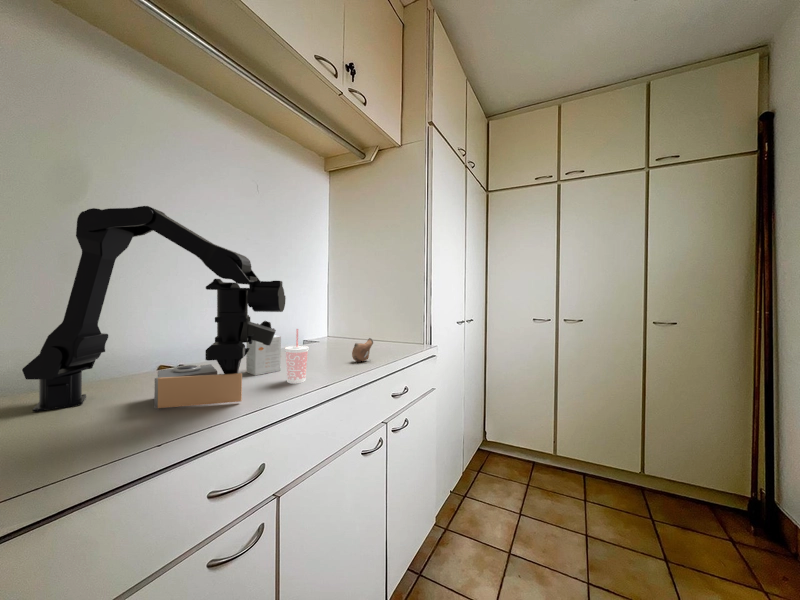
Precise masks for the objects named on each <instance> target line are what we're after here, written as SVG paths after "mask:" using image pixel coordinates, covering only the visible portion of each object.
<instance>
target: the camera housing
mask: <svg viewBox="0 0 800 600" xmlns="http://www.w3.org/2000/svg"><path fill="white" fill-rule="evenodd" d="M216 374H218V370H217V369H216V368H215V367H214V366H213V365H212V364H201V365H199V364H187V365H179V366H176V367H174V368H165V369H157V378H161V377H179V376H198V375H216Z"/></svg>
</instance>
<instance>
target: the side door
mask: <svg viewBox="0 0 800 600" xmlns="http://www.w3.org/2000/svg"><path fill="white" fill-rule="evenodd" d="M242 396H243V373H242V372H238V373H234V374H224V373H220V374H218V373H217V374H216V375H198V376H179V377H161V378H158V377H154V401H153V402H154V409H164V408H177V407H189V406H190V407H191V406H200V405H201V406H202V405H211V404H213V405H214V404H227V403H237V402H242V400H243V397H242Z"/></svg>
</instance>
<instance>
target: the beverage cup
mask: <svg viewBox="0 0 800 600" xmlns="http://www.w3.org/2000/svg"><path fill="white" fill-rule="evenodd" d="M295 332H296V334H295V335H296V336H295V338H296V341H295V345H289V346H286V347H284V352H285V358H286V359H285V361H286V381H287V383H289V384H294V385H295V384H301V383H305V382H306V377H307V367H308V366H307V365H308V355H309V354H308V352H309V346H307V345H299V328H296V331H295ZM304 381H305V382H304Z"/></svg>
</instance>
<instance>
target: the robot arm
mask: <svg viewBox="0 0 800 600" xmlns="http://www.w3.org/2000/svg"><path fill="white" fill-rule="evenodd" d="M151 232H155V233H156V234H158V235H160V236H161V237H163V238H165V239H166V240H169V241H171V242H172V243H174V244H176V245H178V247H180V248H182V249H183V250H185V251H187V252H189V253H191V254H193V255H194V256H196V257H197V258H198V259H199V260H200V261H201V262H202V263H203V264H204V265H205V266H206V267H207V268H208V269H209V270H210V271H211V272H213V273H214V274H215V275H216V276H218V277H219V278H214V279H213V281H211V282H210V283H208V284H207V285H206V286H205V290H207V291H208V290H210V291H216V311H217V312H216V316H215V317H214V323H217V324H216V325H217V326H216V333H217V334H216V336H215V337H214V343H212V344H211V345H210V346H208V347H207V348H206V349H205V361H216V362H217V364H218V365H219V367H220V369H221V371H222V372H223V374H234V373H239V370H240V366H241V362H242V359H243V358H244V357H246V354H247V352H248V351H249V349H250V348H247V347H246V344H247V342H249V344H252V343H253V340H254V341H257V342H261V343H263V344H264V345H270V344H271V342H272V339H273V337H274V335H276V334H275V333H276V331H277V330H276V329H275V328H272V324H271V323H272V322H270V321H266V320H264V321H262V322H261V323H260V324H259V323H255V322H252V321H251V316H249V314H248V311H249V310H248V307H249V308H251V309H252V311H253V312H257V313H258V312H260V313H262V312H264V313H282V312H283V311H284V310H285V307H286V299H287V297H286V295H285V289H284V286H283V281H282V280H270V281H268V280H267V281H264V280H262V281H261V280H260V278H259V277H258V276H257V275H256V274H255V272H254V271H253V269H252V264H251V260H250V259H249V257H247V256H246V255H243V254H240V253H239V252H236V251H233V250H230V249H228V248H225V247H222V246H220V245H217V244H214V243H213V242H211V241H209V239H206V238H204V237H203V236H201V235H200V234H198V233H196V232H194V231H193V230H192V229H189V228H188V227H186V226H184V225H183V224H181V223H180V222H178V221H176V220H174V219H173V218H171V217H169V216H168V215H167V214H166V213H165V212H163V211H161V210H160V209H159V210H158V209H156V208H154V207H151V206H148V205H141V206H140V205H139V206H135V207H121V208H120V207H119V208H118V207H117V208H115V207H114V208H104V209H100V208H95V207H93V208H88V209H87V210H86V209H85V210H84V211H81V212H80V213H79V215H78V216H77V218H76V229H75V237H76V239H77V242H78V245H79V247H80V249H81V255H80V259H79V263H78V266H77V268H76V269H77V270H76V273H75V278H74V280H73V285H72V287H71V292H70V294H69V298H68V303H67V305H66V309H65V313H64V317H63V319H62V322H61V323H60V324H59V325H58V326H57V327H56V328H55V329H54V330H52V331H51V332H50V334H48V336H47V338H46V339H45V341H44V343H43V345H42V347H41V349H40V351H39V354H38V355H37V356H35V357H34V358H33V359H32V360H31V361H29V362H28V363H27V364H26V365H25V366H23V367H22V370H21V371H22V373H23V375H24V379H25V380H29V381H30V380H39V382H38V383H39V385H38V387H39V391H38V392H39V396H38V397H39V401H38V403H36V405H35V406H34V407H33V408H32V412H36V413H37V412H41V411H47V410H55V409H56V410H57V409H62V408H68V407H73V406H76V407H77V406H82V405H83V403H84V402H85V400H86V398H87V394H86V393H84V394H82V393H83V391H82V389H83V387H82V386H83V385H82V382H83V381H82V379H83V378H82V377H83V373H82V372H83V371H86V370H92V369H93V368H94V367H93V366H94V365H95V362H96V360H98V359H99V358H100V356H101V355H102V353H105V352H106V344H107V341H108V339H109V334H108V333H104V332H103V333H102V332H101V330H100V327H99V321H100V316H101V313H102V310H103V305H104V303H105V298H106V295H107V291H108V288H109V284H110V281H111V277H112V274H113V270H114V267H115V262H116V259H117V258H118V257H120V255H121V254H123V252H125V251H126V250H128V247H129V246H130V243H131V242H132V240H133V238H136V237H140V236H141V237H142V236H145V235H147V234H150V233H151ZM222 279H225V280H232V281H233V282H232V281H231V282H226V281H223V280H222ZM240 285H248V286H249V287H240ZM245 343H246V344H245Z"/></svg>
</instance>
